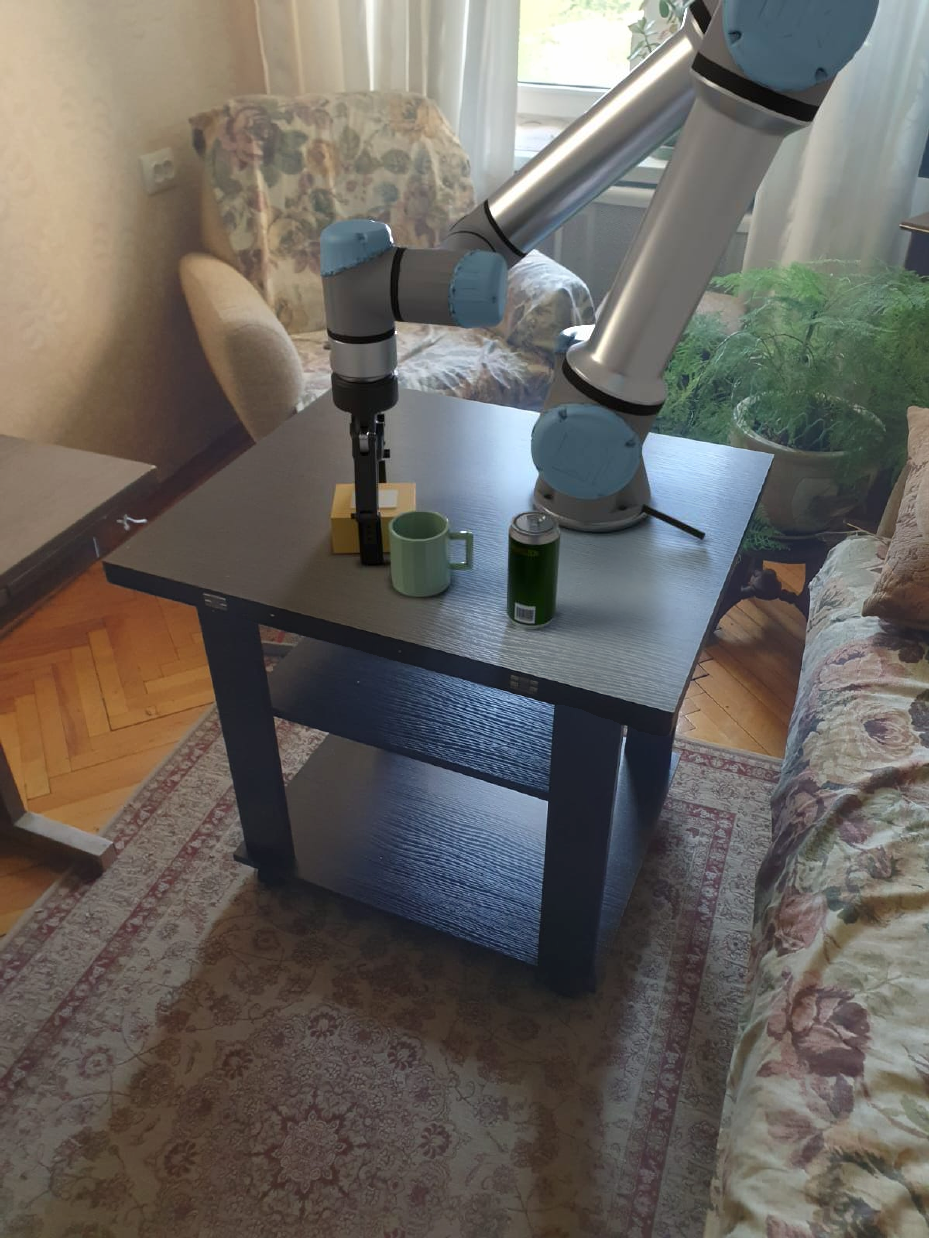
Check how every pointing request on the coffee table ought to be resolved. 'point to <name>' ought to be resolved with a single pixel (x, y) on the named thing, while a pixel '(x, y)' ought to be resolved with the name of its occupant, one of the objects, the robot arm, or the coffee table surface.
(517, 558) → the beer can
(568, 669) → the coffee table surface
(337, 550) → the tea packet
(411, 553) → the cup
